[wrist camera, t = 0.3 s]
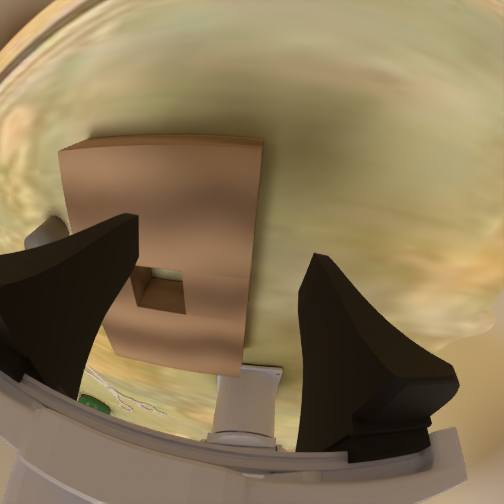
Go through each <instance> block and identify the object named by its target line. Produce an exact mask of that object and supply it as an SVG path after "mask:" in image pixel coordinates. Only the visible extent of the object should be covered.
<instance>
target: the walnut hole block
mask: <svg viewBox="0 0 504 504" xmlns="http://www.w3.org/2000/svg"><path fill="white" fill-rule="evenodd" d="M263 142H264V139H262V138H250V137H237V136H221V135H194V134H155V135H129V136H113V137H101V138H90V139H86V140H84V141H81V142H79V143H76V144H74V145H72V146H69V147H67V148H64V149H62V150H60V151H58V156H59V164H60V172H61V178H62V185H63V191H64V196H65V202H66V207H67V211H68V216H69V221H70V225H71V229H72V233H73V234H75V233H77V232H80V231H82V230H84V229H87V228H89V227H91V226H94V225H96V224H98V223H100V222H103V221H105V220H107V219H110V218H112V217H115V216H117V215H120V214H123V213H130V214H135V215H139V258H138V260H137V262H136V265H135V267H134V269H133V271H132V273H131V275H130V277H129V278H128V280H127V282H126V283H125V285H124V286H123V288H122V289H121V291H120V293H119V294H118V296H117V297H116V299H115V301H114V302H113V304H112V305H111V307H110V309H109V310H108V312H107V314H106V315H105V317H104V319H103V321H102V325H103V327H104V330H105V332H106V334H107V337H108V339H109V341H110V343H111V346H112V348H113V350H114V352H115V354H116V355H118V356H121V357H125V358H129V359H133V360H137V361H142V362H146V363H151V364H155V365H160V366H165V367H170V368H175V369H180V370H186V371H192V372H198V373H205V374H211V375H219V376H226V377H235V378H240V375H241V366H242V357H243V348H244V338H245V327H246V317H247V307H248V297H249V287H250V276H251V266H252V256H253V245H254V235H255V225H256V215H257V204H258V194H259V184H260V173H261V163H262V153H263ZM151 267H152V268H159V269H167V270H175V271H182V279H183V282H179V281H172V280H164V279H157V278H152V272H151Z"/></svg>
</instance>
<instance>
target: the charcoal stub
mask: <svg viewBox="0 0 504 504" xmlns="http://www.w3.org/2000/svg"><path fill="white" fill-rule="evenodd" d="M68 236H69V232H68V229H67V227H66V225H65V223H64V222H63V221H62V220H61V219H60V218H58V217H55V216H52V217H50V218H49V219H48V220H47V221H45V222H44V223H43V224H42V225H40V226H39V227H38V228H37V229H36V230H35V231H33V232H32V233H31V234H30V235H29V236H28V237H26V239H25V242H24V245H25V250H27V249H31V248H35V247H38V246H42V245H45V244H48V243H51V242H54V241H57V240H60V239H63V238H65V237H68Z"/></svg>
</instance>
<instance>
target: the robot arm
mask: <svg viewBox="0 0 504 504" xmlns="http://www.w3.org/2000/svg"><path fill="white" fill-rule="evenodd" d="M138 258H139V215H135V214H130V213H123V214H120V215H117V216H115V217H112V218H110V219H107V220H105V221H103V222H100V223H98V224H96V225H94V226H91V227H89V228H87V229H84V230H82V231H80V232H77V233H75V234H73V235H70V236H68V237H65V238H63V239H60V240H57V241H54V242H51V243H48V244H45V245H42V246H38V247H35V248H31V249H27V250H23V251H19V252H14V253H9V254H3V255H0V438H1V439H2V440H3V441H4V442H6V443H7V444H8V445H9V446H11V447H12V448H13V449H14V450H16V451H17V455H16V458H15V461H14V464H13V467H12V470H11V473H10V476H9V480H8V483H7V487H6V490H5V494H4V498H3V502H2V504H418V503H421V502H423V501H426V500H428V499H431V498H433V497H435V496H438V495H440V494H442V493H445V492H447V491H449V490H451V489H453V488H455V487H457V486H459V485H461V484H463V483H465V482H467V474H466V468H465V463H464V458H463V454H462V449H461V446H460V441H459V437H458V434H457V430H456V427H451V428H447V429H443V430H439V431H436V432H433V433H431V434H428V430H427V427H429V426H431V424H432V422H431V418H430V416H431V415H432V414H433V413H435V412H436V411H437V410H439V409H440V408H441V407H442V406H444V405H445V404H446V403H447V402H448V401H450V400H451V399H452V398H453V397H454V396H455V394H456V393H457V391H458V388H459V386H460V385H459V381H458V378H457V376H456V373H455V371H454V368H453V366H452V365H451V364H449V363H447V362H446V361H444V360H442V359H440V358H438V357H437V356H435V355H433V354H431V353H430V352H428V351H427V350H425V349H424V348H422V347H421V346H419V345H418V344H416V343H415V342H413V341H412V340H411V339H409V338H408V337H406V336H405V335H404V334H403V333H401V332H400V331H399V330H398V329H396V328H395V327H394V326H393V325H392V324H391V323H389V322H388V321H387V320H386V319H385V318H384V317H383V316H382V315H381V314H380V313H379V312H378V311H377V310H376V309H375V308H374V307H373V306H372V305H371V304H370V303H369V302H368V301H367V300H366V299H365V298H364V297H363V296H362V295H361V293H360V292H359V291H358V290H357V289H356V288H355V287H354V285H353V284H352V283H351V282H350V281H349V279H348V278H347V277H346V276H345V275H344V273H343V272H342V271H341V270H340V269H339V267H338V266H337V265H336V264H335V263H334V262H333V260H332V259H331V258H330V257H329V256H326V255H321V254H317V253H314V254H313V257H312V259H311V262H310V265H309V267H308V269H307V272H306V274H305V277H304V279H303V282H302V284H301V287H300V289H299V294H298V317H299V327H300V336H301V345H302V355H303V389H302V404H301V415H300V424H299V432H298V439H297V445H296V451H295V452H286V450H285V449H284V448H283V447H282V445H276V438H274V423H275V394H276V391H277V388H278V385H279V382H280V379H281V376H282V373H283V369H282V368H276V367H263V366H251V365H242V366H241V375H240V378H235V377H226V376H219V375H217V390H218V396H217V402H216V408H215V414H214V421H213V427H212V433H208V436H207V439H202V440H201V441H196V440H192V439H187V438H183V437H179V436H175V435H171V434H167V433H163V432H159V431H156V430H152V429H149V428H146V427H142V426H139V425H136V424H133V423H130V422H127V421H124V420H122V419H119V418H116V417H113V416H111V415H108V414H106V413H103V412H101V411H98V410H96V409H93V408H91V407H89V406H86V405H84V404H82V403H80V402H78V401H77V397H78V393H79V388H80V384H81V380H82V376H83V372H84V369H85V366H86V362H87V359H88V356H89V353H90V351H91V348H92V345H93V342H94V340H95V337H96V335H97V333H98V330H99V328H100V326H101V323H102V321H103V319H104V317H105V315H106V314H107V312H108V310H109V309H110V307H111V305H112V304H113V302H114V301H115V299H116V297H117V296H118V294H119V293H120V291H121V289H122V288H123V286H124V285H125V283H126V282H127V280H128V278H129V277H130V275H131V273H132V271H133V269H134V267H135V265H136V262H137V260H138Z"/></svg>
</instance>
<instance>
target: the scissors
mask: <svg viewBox="0 0 504 504" xmlns="http://www.w3.org/2000/svg"><path fill="white" fill-rule="evenodd" d="M86 365H87V364H86ZM87 366H88V365H87ZM88 367H89V366H88ZM89 369H90V370H91V371H92V372H93V373H94V374H95V375H96V376H97V377H98V378H99V379H101V380H102V381H103V382H102V381H101V380H99V379H98V378H96V377H94V376H93V375H91V374H90V373H88V372H87V371H86V370H84V372H86V373H87V374H88V375H90V376H91V377H92V378H94V379H95V380H96V381H98V382H99V383H101V384H102V385H104V386H105V387H106V388H107V389H108V390H109V391H110V392H111V393H112V394H113V395H114V396H115V397H116V398H117V400H118V401H119V402H120V403H119V406H120V407H121V408H122V409H124V410H126V411H128V412H133V409H132V408H131V407H130V406H128V405H126V404H124V403H123V402H122V401H120V399H119V397H118V395H119V396H121V397H124V398H126V399H129V400H131V401H133V402H135V403H137V404H138V405H139V406H140V407H141V408H143V409H145V410H148V411H151V412H158V413H160V414H163V415H167V414H166V413H163V412H160V411H158V410H156V408H155V407H153V406H151V405H149V404H147V403H143V402H139V401H136V400H134V399H132V398H130V397H127V396H124V395H123V394H121V393H120V392H118V391H116V390H115V389H113V388H112V387H110V386H109V385H108V384H107V383H106V382H105V381H104V380H103V379H102V378H101V377H100V376H99V375H98V374H97V373H96V372H95V371H94V370H92V369H91V368H90V367H89ZM121 405H124V406H126V407H128V408H129V409H130V410H127V409H125V408H123V407H122V406H121ZM142 405H146V406H149V407H151V408H152V409H153V410H151V409H148V408H145V407H144V406H142Z"/></svg>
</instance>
